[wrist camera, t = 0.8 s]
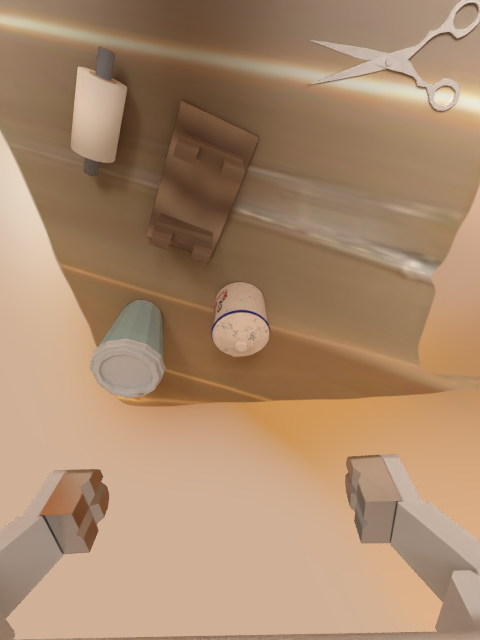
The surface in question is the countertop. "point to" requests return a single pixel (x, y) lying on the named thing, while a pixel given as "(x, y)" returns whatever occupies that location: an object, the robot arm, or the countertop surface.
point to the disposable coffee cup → (131, 352)
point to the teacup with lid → (240, 320)
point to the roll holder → (199, 182)
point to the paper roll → (97, 113)
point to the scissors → (402, 57)
